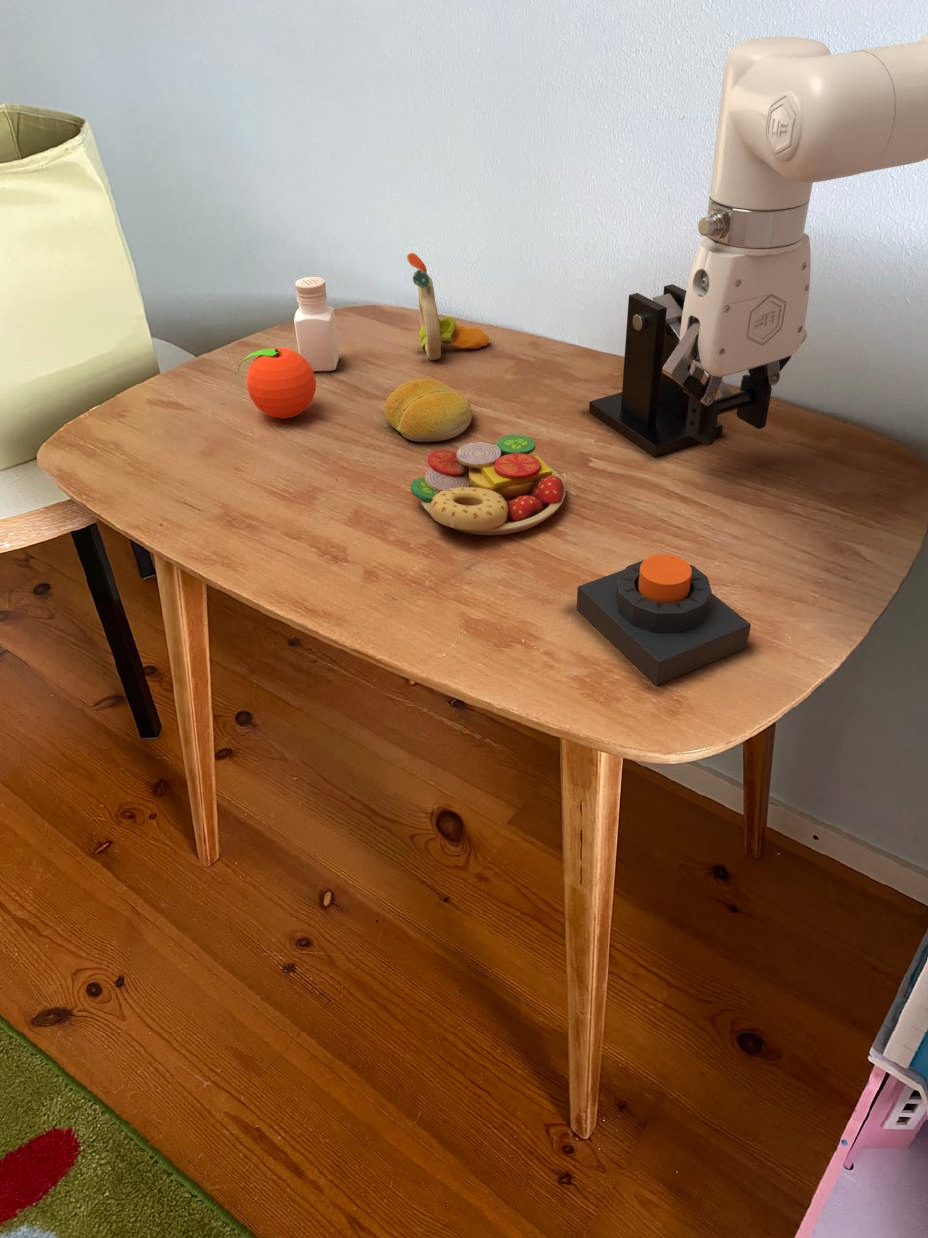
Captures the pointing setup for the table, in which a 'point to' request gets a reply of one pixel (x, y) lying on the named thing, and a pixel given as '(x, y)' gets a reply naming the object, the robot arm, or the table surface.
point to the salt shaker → (316, 325)
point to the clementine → (280, 382)
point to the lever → (672, 329)
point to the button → (664, 579)
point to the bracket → (649, 383)
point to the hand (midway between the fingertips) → (725, 428)
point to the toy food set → (490, 487)
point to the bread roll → (427, 411)
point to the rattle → (436, 329)
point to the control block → (663, 624)
